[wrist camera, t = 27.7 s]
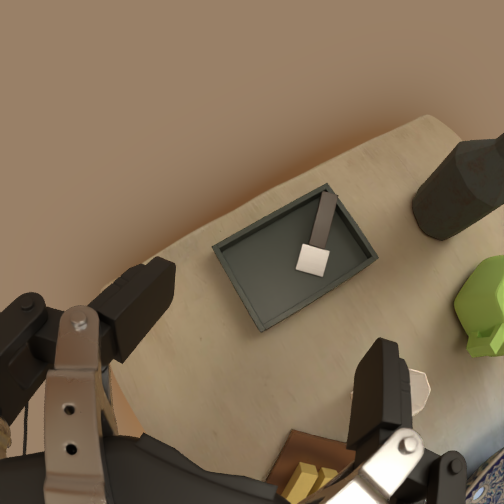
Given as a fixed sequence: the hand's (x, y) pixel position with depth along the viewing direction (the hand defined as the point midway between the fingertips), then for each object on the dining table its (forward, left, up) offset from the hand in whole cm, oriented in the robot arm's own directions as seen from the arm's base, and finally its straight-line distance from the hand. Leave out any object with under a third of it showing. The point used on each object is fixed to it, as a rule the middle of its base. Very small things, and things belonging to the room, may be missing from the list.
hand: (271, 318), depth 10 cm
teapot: (+19, -33, -31) cm, 49 cm away
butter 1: (-19, -17, -29) cm, 39 cm away
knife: (+9, -1, -30) cm, 31 cm away
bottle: (+30, -15, -31) cm, 46 cm away
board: (-19, -18, -31) cm, 41 cm away
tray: (+10, +2, -31) cm, 32 cm away
